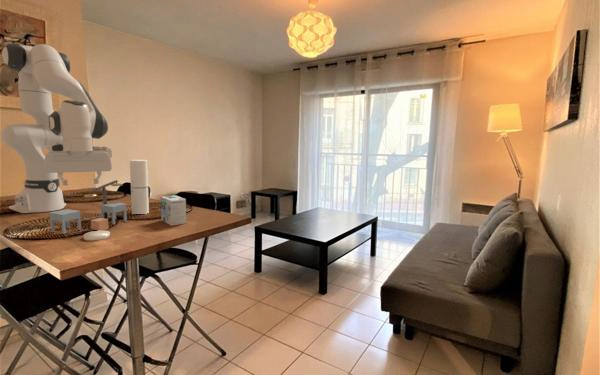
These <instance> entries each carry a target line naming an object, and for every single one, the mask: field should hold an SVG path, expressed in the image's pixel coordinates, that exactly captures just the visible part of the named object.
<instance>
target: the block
mask: <svg viewBox="0 0 600 375" xmlns="http://www.w3.org/2000/svg"><path fill="white" fill-rule="evenodd" d="M90 229H94V230H97V231H107V230H109V220H108V219H104V218H98V219H96V218H94V219H91V220H90Z"/></svg>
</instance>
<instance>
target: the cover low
mask: <svg viewBox="0 0 600 375" xmlns="http://www.w3.org/2000/svg"><path fill="white" fill-rule="evenodd" d="M74 220H76V221H77V231H78V230H80V229H81V230H82V216H81V211H80V210H75V209H68V208H66V209H60V210H55V211H50V212H49V224H50V232H54V233H56V229H55V222H60V223H61V233H62V234H65V233H66V234H67V228H70V229H71V221H74Z"/></svg>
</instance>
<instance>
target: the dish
mask: <svg viewBox="0 0 600 375" xmlns="http://www.w3.org/2000/svg"><path fill="white" fill-rule="evenodd" d="M110 236H111V232H110V231H109V230H103V231H93V230H91V231H89V232H86V233H84V234H83V235H82V237H83V240H84V241H87V242H88V241H90V242H91V241H102V240H105V239H108V238H111V237H110Z"/></svg>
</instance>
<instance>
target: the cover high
mask: <svg viewBox="0 0 600 375" xmlns="http://www.w3.org/2000/svg"><path fill="white" fill-rule="evenodd" d="M104 212H107V214H111V216H112V219H111V225H112V224H114V225H116V220H117V213H120V212H122V214H123V222H127V221H128V217H127V203H123V202H116V201H113V202H107V204H103V203H102V204H100V216H101V218H104Z"/></svg>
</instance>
